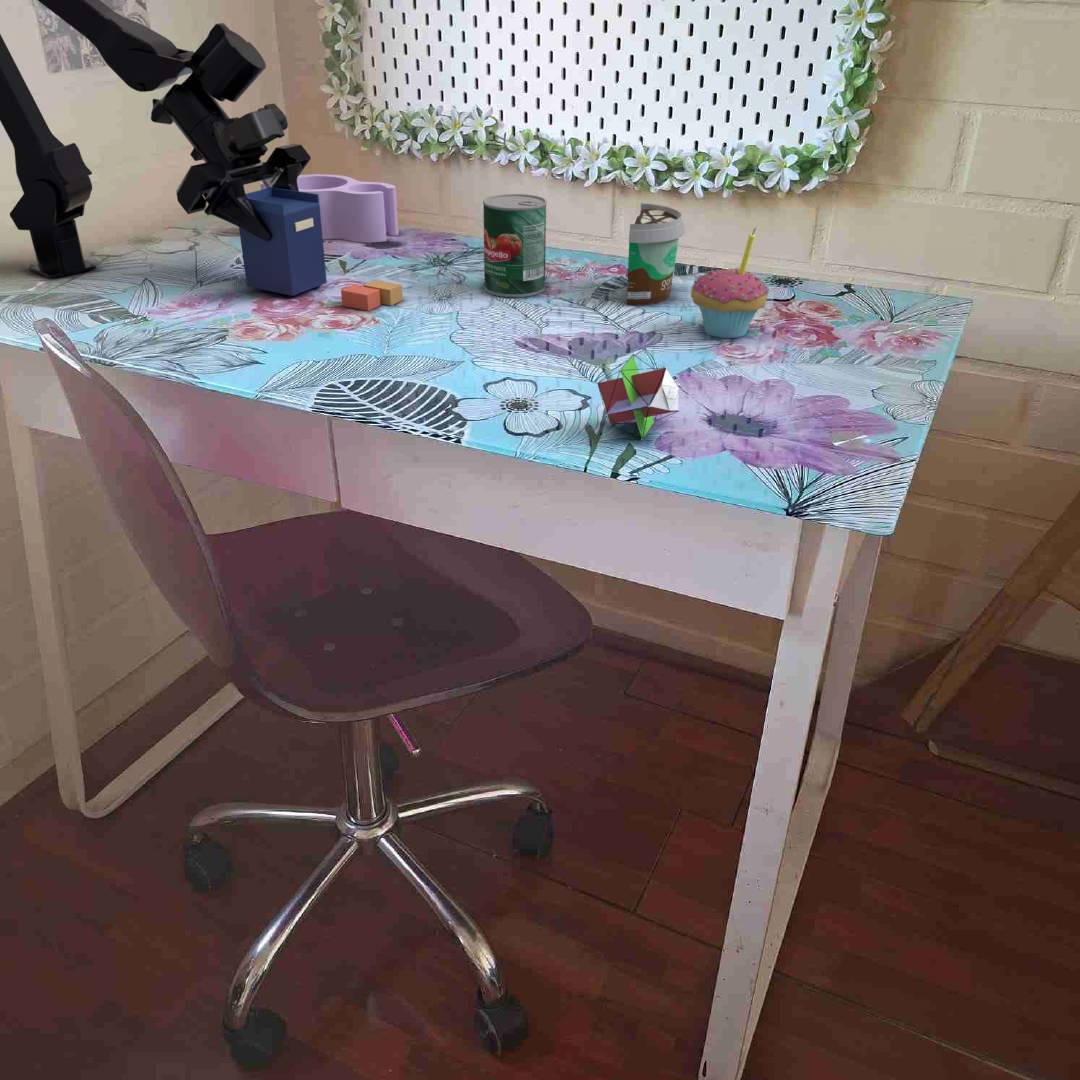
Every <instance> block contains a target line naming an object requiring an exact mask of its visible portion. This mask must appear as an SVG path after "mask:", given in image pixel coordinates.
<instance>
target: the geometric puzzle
mask: <svg viewBox="0 0 1080 1080" xmlns="http://www.w3.org/2000/svg"><path fill="white" fill-rule="evenodd" d="M635 357H636V358H637V359H638V360H640V361H641V362H643V363H644V364H645V365H647V366H648V367H650V368H647V370H650V371H645V372H640V370H641V371H643V368H638V363H637V361H636V358H635ZM644 360H645V361H647V358H644ZM644 360H643V359H642V357H641V356H639V355H636V354H635V353H632V355H631V356H630V357H627V358H626V361H623V362H622V363H621V364H619V365H618V366H617V367H616V368H614V369H613V370H612V371H611V372H609V373H608V374H607V375H606V376H604V377H603V378H602V379H601V380H599V381H597V382H596V384H597V387H598V391H599V395H600V398H601V402H602V405H603V410H604V411H605V412H604V415H605V417H606V418H607V420H608V422H609V425H610V426H614V427H615V428H617V429H619V430H621V431H623V428H624V430H626V431H627V433H628V434H630V435H631V436H634V437H636V438H638V439H640V440H641V441H643V440H644V439H645V438H646V436H649V435H650V433H649V431H650V429H651V428H652V426H653V425H654V423H656V422H657V421H660V420H662V419H664V418H666V417H669V416H670V418H672V417H673V415H675V414H677V413H678V412H680V387H679V386H678V384H677V383H676V381H675V379H674V377H673V376H672V374H671V373H670V371H669V370H668V367H667V366H662V365H660V364H659V366H660V367H652V366H651V365H650V364H648V363H646V362H645V361H644ZM649 362H651V363H652V361H650V360H649ZM624 363H625V364H624ZM623 364H624V365H623ZM654 364H655V365H657V363H655V362H654ZM621 365H623V366H622V367H621V368H619V367H620V366H621ZM618 368H619V370H618V371H617V372H616V371H615V370H616V369H618ZM614 371H615V372H614ZM613 372H614V373H613ZM611 373H613V374H611ZM617 373H618V375H617V377H616V378H613V379H609V380H607V379H608V378H610V377H612V376H614V375H615V374H617ZM620 375H621V377H619V376H620ZM605 380H606V381H605ZM666 414H667V415H666ZM660 415H665V416H662V417H661V418H658V419H657V417H658V416H660ZM668 420H669V418H667V419H666V420H665V422H667V421H668ZM630 421H633V422H630ZM627 424H628V425H630V424H636V425H637V429H638V431H639V434H640V436H638V435H636V434H635V433H634V432H632V431H630V430H629V429H628V428H627V427H625V426H623V425H627ZM616 425H619V426H621V427H622V428H620V427H618V426H616ZM662 425H664V422H663V423H661V424H660V426H662ZM658 428H659V426H657V427H656V429H658ZM653 431H655V429H653V430H652V431H651V433H653Z"/></svg>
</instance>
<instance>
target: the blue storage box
mask: <svg viewBox="0 0 1080 1080" xmlns="http://www.w3.org/2000/svg"><path fill="white" fill-rule="evenodd" d="M245 195H246V197H247V198H248V200H249V201H250V202H251V204H252V205H253V207H254V208H255V209H256V211H257V212H258V214H259V215H260V217H261V218H262V219H263V221H264V222H265V224H266V225H267V227H268V229H269V230H270V232H271V234H272V238H271V239H270V241H265V240H263V239H261V238H259V237H257V236H255V235H253V234H251V233H249V232H248V231H246V230H244V229H242V228H240V227H238V230H239V238H240V246H241V253H242V259H243V268H244V275H245V283H246V287H248V288H253V289H258V290H263V291H267V292H272V293H276V294H281V295H282V294H283V295H287V296H292V297H293V296H296V295H299V294H302V293H304V292H307V291H309V290H312V289H314V288H318V287H320V286H322V285H324V284H327V283H328V281H327V270H326V260H325V250H324V239H323V237H322V226H321V215H320V204H319V194H313V193H307V192H301V191H294V190H288V189H281V188H275V187H270V188H266V189H262V190H261V189H259V190H255V191H251V192H247V193H245Z"/></svg>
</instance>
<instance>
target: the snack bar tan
mask: <svg viewBox="0 0 1080 1080" xmlns="http://www.w3.org/2000/svg"><path fill="white" fill-rule="evenodd" d="M363 287H367V288H373V289H378V290H380V303H381V305H384V306H389V307H392V306H394V305H396V304H398V303H400V302H403V298H404V297H403V286H402V284H400V283H394V282H389V281H383V280H378V279H374V280H372V281H370V282H368V283H365V284H363Z"/></svg>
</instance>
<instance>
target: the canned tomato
mask: <svg viewBox="0 0 1080 1080" xmlns="http://www.w3.org/2000/svg"><path fill="white" fill-rule="evenodd" d="M482 204H483V214H482V215H483V265H484V266H483V270H484V272H483V274H484V275H483V276H484V277H483V278H484V286H483V288H484V291H485V292H486V293H488V294H490V295H493V296H497V297H501V298H527V297H534V296H537V295H539V294H542V293H544V291H546V244H547V241H546V240H547V238H546V237H547V233H546V232H547V204H548V200H546V198H544V197H542V196H538V195H534V194H526V193H505V194H504V193H502V194H496V195H491V196H488V197H486V198H484V199H483V201H482Z"/></svg>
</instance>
